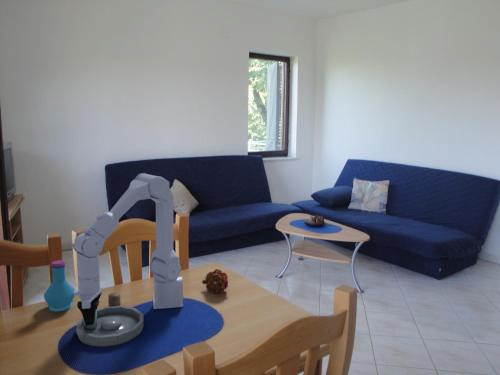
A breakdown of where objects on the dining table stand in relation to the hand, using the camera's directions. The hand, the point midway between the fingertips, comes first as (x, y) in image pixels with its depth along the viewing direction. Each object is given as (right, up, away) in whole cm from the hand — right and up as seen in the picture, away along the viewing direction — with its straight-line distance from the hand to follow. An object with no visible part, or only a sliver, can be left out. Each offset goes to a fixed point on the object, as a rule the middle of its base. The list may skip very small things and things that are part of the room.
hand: (90, 320), depth 116 cm
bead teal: (0, -2, 0) cm, 2 cm away
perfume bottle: (-16, 0, +15) cm, 22 cm away
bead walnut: (+2, -1, +14) cm, 14 cm away
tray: (+5, -3, +2) cm, 6 cm away
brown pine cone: (+33, +1, +30) cm, 45 cm away
